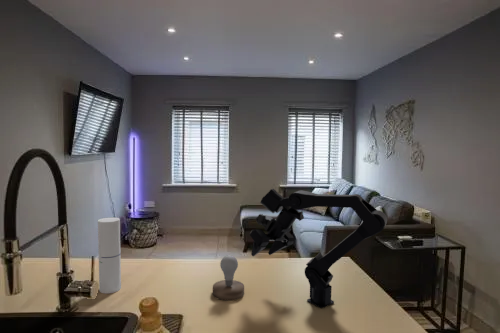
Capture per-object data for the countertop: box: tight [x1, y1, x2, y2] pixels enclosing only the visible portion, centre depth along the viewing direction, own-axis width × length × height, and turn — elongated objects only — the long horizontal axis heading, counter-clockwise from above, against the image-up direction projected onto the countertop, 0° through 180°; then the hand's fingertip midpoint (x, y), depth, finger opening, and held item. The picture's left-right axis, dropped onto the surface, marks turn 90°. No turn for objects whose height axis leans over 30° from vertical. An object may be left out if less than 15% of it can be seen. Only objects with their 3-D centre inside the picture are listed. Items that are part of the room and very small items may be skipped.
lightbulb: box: [219, 254, 239, 287], centre depth 122 cm, size 6×6×11 cm
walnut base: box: [212, 279, 245, 301], centre depth 122 cm, size 11×11×2 cm
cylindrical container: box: [97, 216, 122, 294], centre depth 123 cm, size 7×7×25 cm
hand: (260, 254), depth 126 cm, fingers open, 9 cm apart
